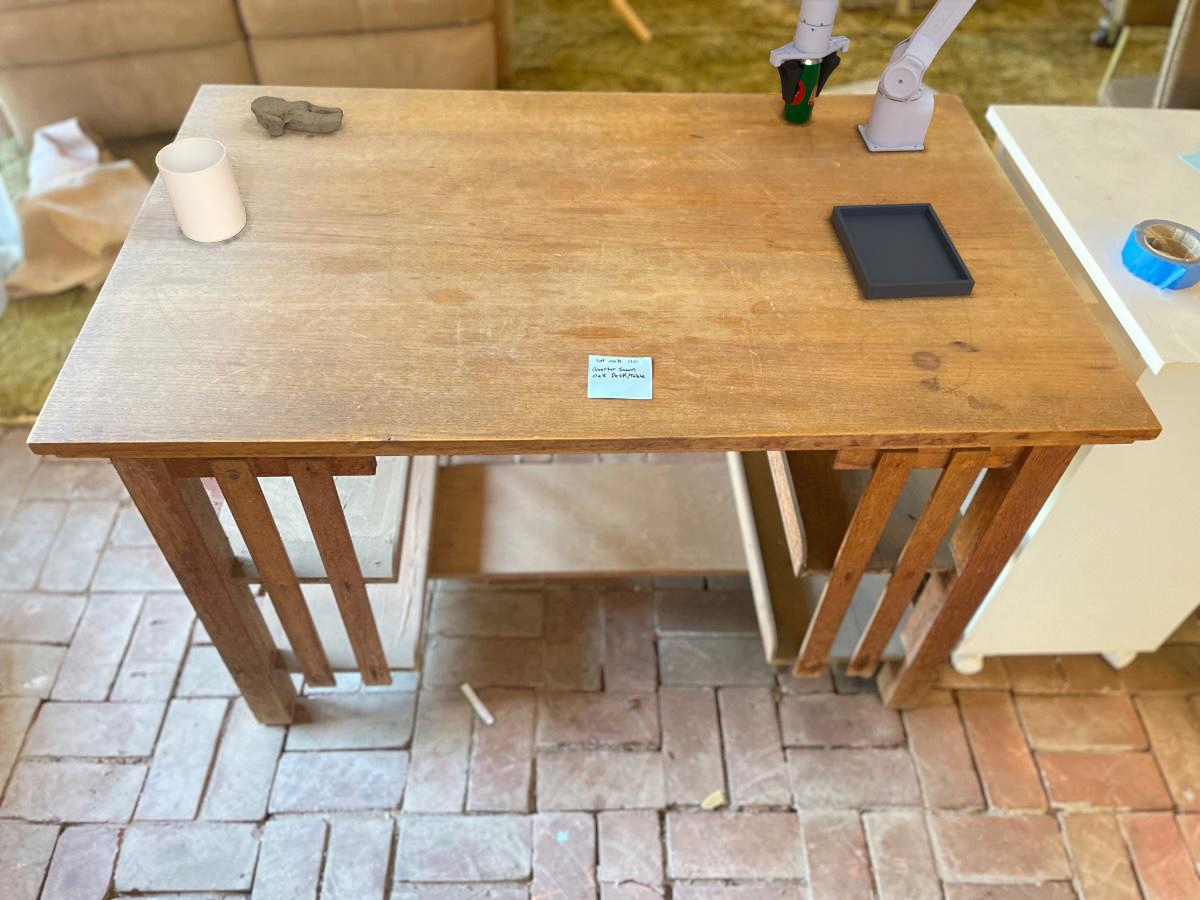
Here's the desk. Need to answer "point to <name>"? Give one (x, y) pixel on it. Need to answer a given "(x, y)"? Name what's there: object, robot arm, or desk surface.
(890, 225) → the dark grey tray
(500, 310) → the desk surface
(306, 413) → the desk surface
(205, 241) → the mug
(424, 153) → the desk surface
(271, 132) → the sculpture
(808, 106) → the soda can
